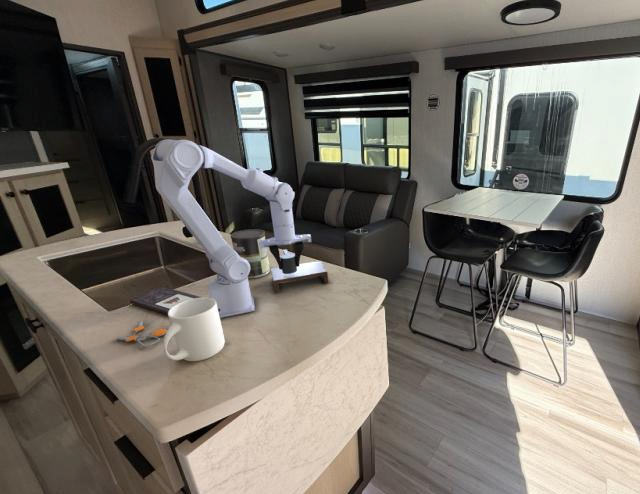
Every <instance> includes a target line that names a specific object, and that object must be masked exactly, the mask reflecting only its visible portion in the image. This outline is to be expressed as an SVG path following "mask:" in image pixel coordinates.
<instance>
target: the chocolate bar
mask: <svg viewBox="0 0 640 494" xmlns="http://www.w3.org/2000/svg"><path fill="white" fill-rule="evenodd" d="M195 298H203V296H198V295H195V294H191V293H189V292H184V291H181V290H176V289H173V288H169V287H166V286H161V287H159V288H156V289H153V290H151V291H149V292H146V293H144V294H141V295H138V296H136V297H134V298H131V299H129V302H130V304H133V305H136V306H139V307H142V308H144V309H148V310H150V311H154V312H158V313H161V314H164V315H167V316H168V311H169V310H170V309H171V308H172V307H173V306H175V305H177V304H179V303H181V302H184V301H187V300H190V299H195Z"/></svg>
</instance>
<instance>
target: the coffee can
mask: <svg viewBox="0 0 640 494" xmlns="http://www.w3.org/2000/svg"><path fill="white" fill-rule="evenodd" d="M230 239H231V244H232V249H234V250H235V251H236V252H237V254H238V255H239V256H240V257H242V258H244V259H246V260H247V261H248V262H249V264H250V272H249V275H248V280H250V279H258V278H262V277H264V276H267V275H268V274H269V273H271V268H270V262H269V255H268V249H267V248H268V247H265V248H263V249H260V246H259V241H260V240H266V232H265V230H263V229H256V228H255V229H254V228H252V229H242V230H238V231H235V232H233V233H231V234H230Z"/></svg>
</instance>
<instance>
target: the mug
mask: <svg viewBox="0 0 640 494" xmlns="http://www.w3.org/2000/svg"><path fill="white" fill-rule="evenodd" d="M167 316H168V320H169V323H170V326H169V328H167V330H168V331H167V332H166V334H165V335H164V337H163V341H162V343H163V344H162V345H163V346H162V347H163V351H164V353H165V356H166V357H167V358H168V359H169V360H171V361H181V360H185V361H187V362H199V361H203V360H207V359H209V358H211V357H212V358H213V356H214V357H215V356H216V355H217V354H218V353H219V352H221V351H222V349H223V348H224V346H225V343H226V342H225V335H224V331H223V326H222V321H221V318H220V317H219V312H218V308H217V304H216V301H215V300H214V299H212V298H210V297H202V298H195V299H190V300H187V301H184V302H181V303H179V304H177V305H175V306H173V307H172V308H171V309H170V310H169V311H168V315H167ZM173 337H174V340H175V344H176V348H177V350H178V352H177V353H176V354H174V355H173V354H170V353H169V352H168V344H169V342H170V340H171V339H172V338H173Z"/></svg>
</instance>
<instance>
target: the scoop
mask: <svg viewBox="0 0 640 494" xmlns="http://www.w3.org/2000/svg"><path fill="white" fill-rule="evenodd" d="M282 252H283V254H280V261H281V265H282V273H284V274H291V273H295V272H296V271H297V265H296V256H295V253H289V251H288V249H287V248H285V249H282Z"/></svg>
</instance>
